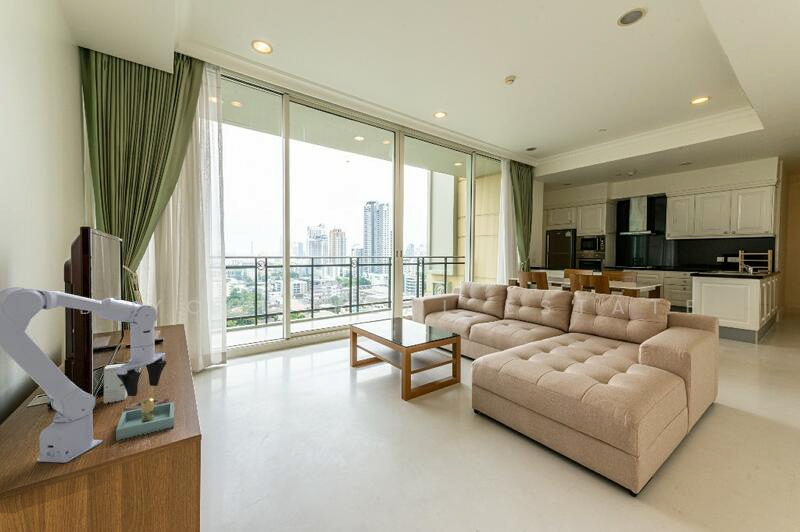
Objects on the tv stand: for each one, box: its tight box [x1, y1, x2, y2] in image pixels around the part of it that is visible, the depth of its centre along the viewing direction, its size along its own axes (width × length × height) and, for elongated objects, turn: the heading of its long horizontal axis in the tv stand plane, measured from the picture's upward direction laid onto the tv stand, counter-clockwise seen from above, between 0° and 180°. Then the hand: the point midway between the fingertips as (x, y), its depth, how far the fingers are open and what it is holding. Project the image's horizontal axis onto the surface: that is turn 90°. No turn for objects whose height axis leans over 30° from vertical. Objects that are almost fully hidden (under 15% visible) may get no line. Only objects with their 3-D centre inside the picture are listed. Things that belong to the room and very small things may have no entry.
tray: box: [115, 401, 175, 442], centre depth 100 cm, size 13×13×3 cm
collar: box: [123, 396, 170, 412], centre depth 112 cm, size 8×8×2 cm
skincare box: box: [103, 362, 128, 404], centre depth 118 cm, size 6×4×12 cm
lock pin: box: [140, 396, 155, 423], centre depth 100 cm, size 3×3×7 cm
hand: (143, 390), depth 100 cm, fingers open, 7 cm apart
